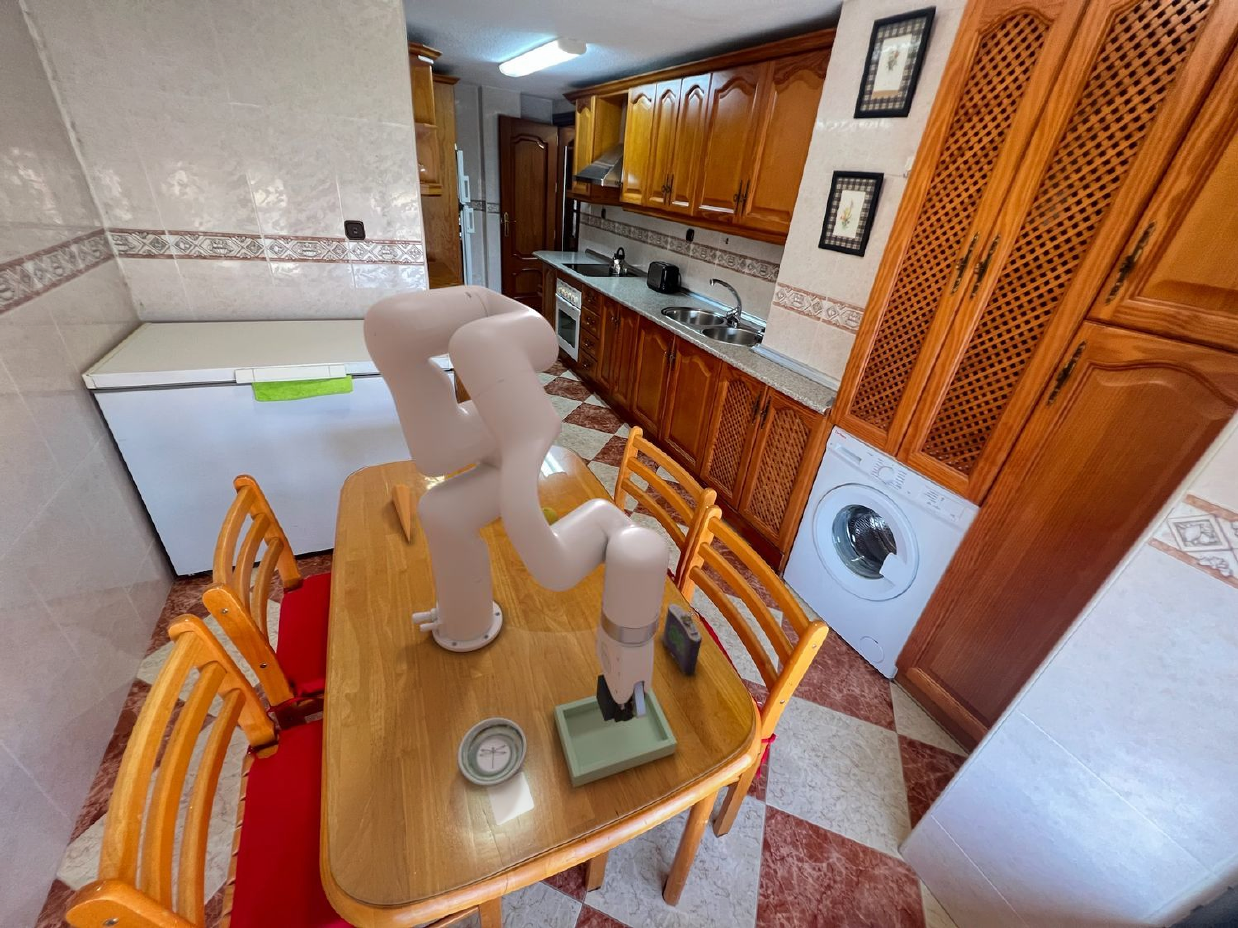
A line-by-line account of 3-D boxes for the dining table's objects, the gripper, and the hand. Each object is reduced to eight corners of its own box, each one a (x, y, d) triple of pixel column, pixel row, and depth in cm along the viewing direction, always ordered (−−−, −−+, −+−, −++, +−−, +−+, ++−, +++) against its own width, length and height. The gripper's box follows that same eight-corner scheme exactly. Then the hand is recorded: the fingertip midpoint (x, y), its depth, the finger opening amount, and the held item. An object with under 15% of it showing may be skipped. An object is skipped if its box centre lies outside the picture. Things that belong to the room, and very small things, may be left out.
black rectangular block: (604, 721, 70) (606, 699, 68) (595, 697, 73) (597, 675, 71) (643, 709, 72) (647, 688, 70) (633, 686, 75) (636, 665, 73)
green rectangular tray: (573, 787, 70) (574, 777, 69) (554, 717, 79) (554, 706, 77) (674, 753, 75) (677, 742, 74) (646, 690, 84) (648, 680, 83)
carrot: (396, 497, 126) (386, 486, 123) (412, 489, 126) (403, 478, 123) (405, 553, 112) (394, 541, 108) (424, 543, 112) (413, 532, 109)
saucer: (464, 804, 67) (463, 795, 66) (454, 738, 74) (453, 729, 73) (534, 778, 71) (534, 768, 69) (518, 717, 78) (517, 708, 77)
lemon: (553, 545, 114) (554, 517, 110) (530, 540, 115) (530, 512, 111) (560, 530, 119) (561, 503, 115) (538, 526, 120) (539, 499, 116)
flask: (659, 638, 94) (667, 597, 88) (672, 633, 95) (680, 593, 90) (685, 678, 87) (695, 636, 81) (699, 672, 88) (710, 631, 83)
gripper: (583, 576, 69) (578, 663, 78) (626, 677, 56) (614, 767, 65) (632, 567, 71) (622, 651, 81) (685, 661, 58) (665, 749, 67)
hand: (618, 702), depth 73 cm, fingers closed on black rectangular block, 4 cm apart
